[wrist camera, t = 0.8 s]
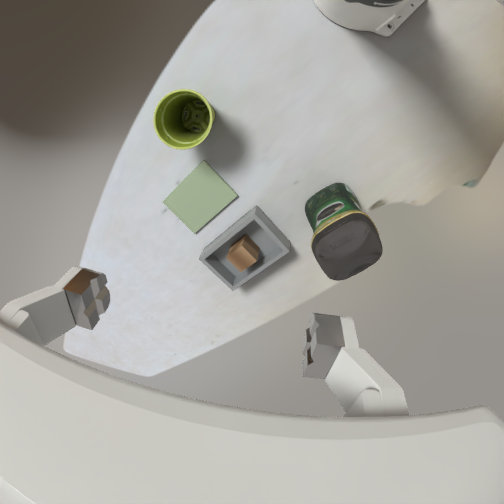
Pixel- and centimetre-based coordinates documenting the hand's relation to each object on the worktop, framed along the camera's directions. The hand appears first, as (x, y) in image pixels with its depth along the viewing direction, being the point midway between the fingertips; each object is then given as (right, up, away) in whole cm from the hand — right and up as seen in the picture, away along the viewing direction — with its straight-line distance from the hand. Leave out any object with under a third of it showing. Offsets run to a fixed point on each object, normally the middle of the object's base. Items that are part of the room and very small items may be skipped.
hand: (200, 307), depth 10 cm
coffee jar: (+16, +11, +40) cm, 45 cm away
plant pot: (-7, +26, +35) cm, 44 cm away
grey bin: (+1, +3, +46) cm, 47 cm away
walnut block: (+1, +3, +46) cm, 46 cm away
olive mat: (-8, +12, +43) cm, 45 cm away
